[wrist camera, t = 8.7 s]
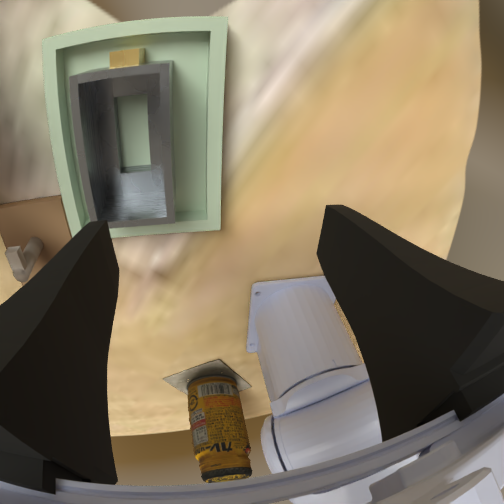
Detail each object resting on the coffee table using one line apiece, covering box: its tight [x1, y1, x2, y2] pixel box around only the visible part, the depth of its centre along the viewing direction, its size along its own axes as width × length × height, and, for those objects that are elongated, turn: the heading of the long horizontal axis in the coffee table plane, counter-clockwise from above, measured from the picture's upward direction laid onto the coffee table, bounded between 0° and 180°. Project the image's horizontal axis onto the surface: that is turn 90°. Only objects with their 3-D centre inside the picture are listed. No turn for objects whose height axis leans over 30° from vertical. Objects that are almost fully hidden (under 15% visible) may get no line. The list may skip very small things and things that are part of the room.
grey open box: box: [69, 48, 176, 229], centre depth 14 cm, size 9×4×4 cm, turn 177°
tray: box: [42, 16, 228, 238], centre depth 15 cm, size 13×10×2 cm
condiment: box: [163, 360, 252, 483], centre depth 29 cm, size 7×8×12 cm
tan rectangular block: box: [0, 195, 72, 286], centre depth 18 cm, size 9×6×4 cm, turn 176°
